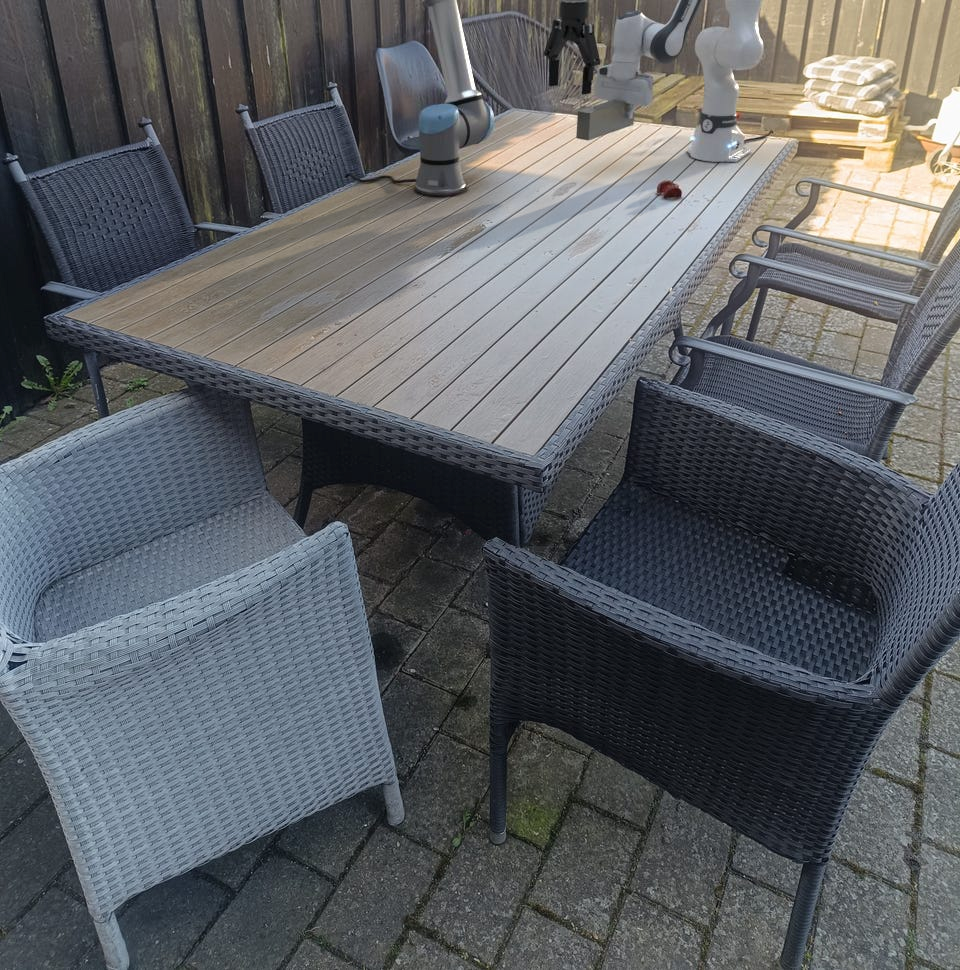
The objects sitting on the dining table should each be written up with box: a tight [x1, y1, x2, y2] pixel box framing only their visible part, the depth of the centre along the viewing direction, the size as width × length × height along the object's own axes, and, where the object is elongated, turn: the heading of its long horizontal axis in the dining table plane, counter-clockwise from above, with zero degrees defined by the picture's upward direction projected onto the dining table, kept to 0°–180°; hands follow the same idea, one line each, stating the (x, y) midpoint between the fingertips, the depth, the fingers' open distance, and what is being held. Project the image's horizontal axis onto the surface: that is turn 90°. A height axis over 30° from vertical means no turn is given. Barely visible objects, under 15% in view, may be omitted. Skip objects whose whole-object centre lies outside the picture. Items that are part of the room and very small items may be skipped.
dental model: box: [656, 180, 683, 200], centre depth 252 cm, size 6×4×8 cm
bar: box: [575, 100, 636, 142], centre depth 266 cm, size 26×5×8 cm, turn 139°
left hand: (569, 89), depth 231 cm, fingers open, 13 cm apart
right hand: (621, 117), depth 272 cm, fingers closed on bar, 4 cm apart
